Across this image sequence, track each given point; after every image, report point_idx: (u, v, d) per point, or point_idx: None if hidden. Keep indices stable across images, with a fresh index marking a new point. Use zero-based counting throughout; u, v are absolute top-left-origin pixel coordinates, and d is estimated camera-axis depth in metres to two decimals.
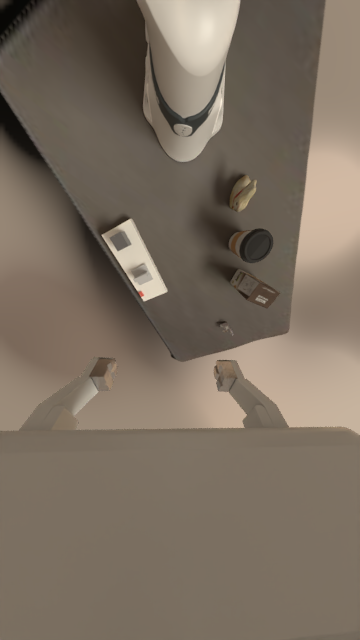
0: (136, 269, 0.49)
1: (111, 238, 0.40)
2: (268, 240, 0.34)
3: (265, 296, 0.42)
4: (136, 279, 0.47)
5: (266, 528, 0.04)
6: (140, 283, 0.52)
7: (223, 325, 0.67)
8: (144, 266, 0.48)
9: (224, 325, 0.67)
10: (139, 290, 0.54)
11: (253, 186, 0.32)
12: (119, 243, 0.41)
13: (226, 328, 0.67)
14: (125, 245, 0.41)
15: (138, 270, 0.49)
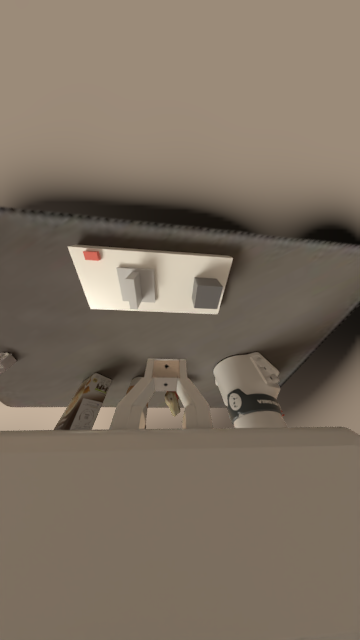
0: (151, 282, 0.23)
1: (219, 289, 0.21)
2: None
3: None
4: (131, 286, 0.20)
5: (266, 528, 0.04)
6: (120, 272, 0.22)
7: (5, 361, 0.36)
8: (151, 299, 0.25)
9: (6, 362, 0.36)
10: (103, 255, 0.21)
11: (176, 414, 0.41)
12: (205, 297, 0.21)
13: None
14: (197, 304, 0.22)
15: (148, 284, 0.23)
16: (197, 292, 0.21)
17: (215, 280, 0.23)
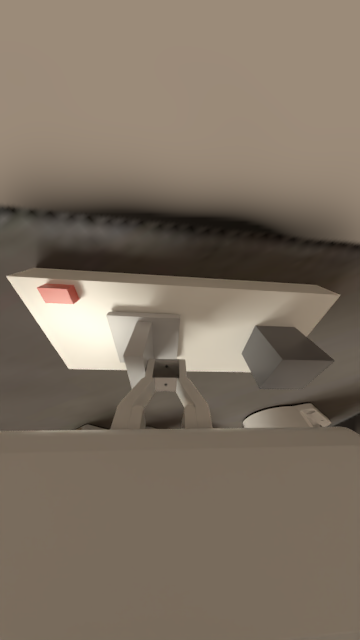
0: (174, 337, 0.12)
1: (325, 364, 0.10)
2: None
3: None
4: (136, 366, 0.09)
5: (266, 528, 0.04)
6: (114, 322, 0.11)
7: None
8: None
9: None
10: (82, 292, 0.10)
11: None
12: (289, 375, 0.11)
13: None
14: (268, 383, 0.11)
15: (168, 340, 0.12)
16: (277, 369, 0.10)
17: (299, 334, 0.12)
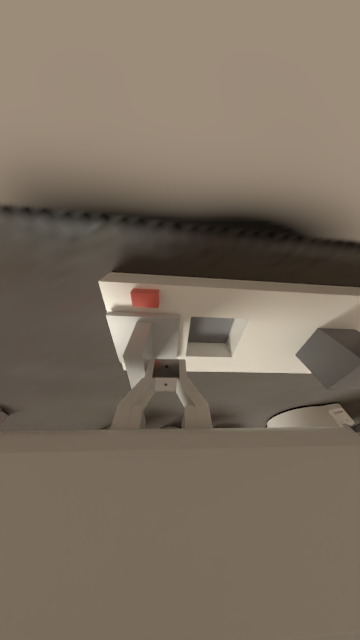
0: (173, 337, 0.12)
1: None
2: None
3: None
4: (136, 366, 0.09)
5: (266, 528, 0.04)
6: (114, 322, 0.11)
7: None
8: None
9: None
10: (165, 296, 0.11)
11: None
12: None
13: None
14: (337, 384, 0.12)
15: (168, 340, 0.12)
16: (354, 370, 0.10)
17: None
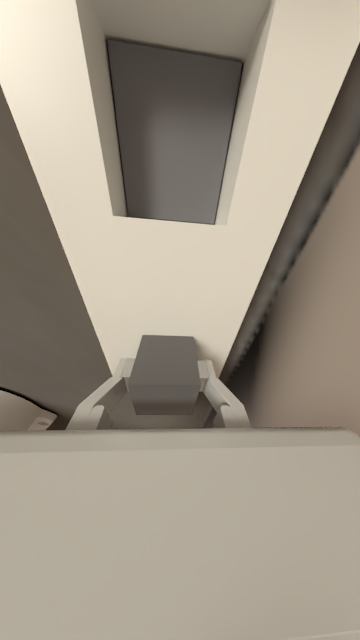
0: None
1: (186, 412, 0.09)
2: None
3: None
4: None
5: (266, 528, 0.04)
6: None
7: None
8: None
9: None
10: None
11: None
12: (166, 398, 0.08)
13: None
14: (142, 388, 0.07)
15: None
16: (180, 386, 0.07)
17: None
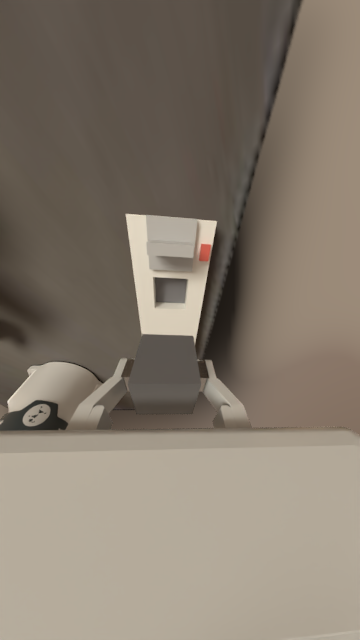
0: (176, 267, 0.19)
1: (186, 411, 0.09)
2: None
3: None
4: (183, 252, 0.14)
5: (266, 528, 0.04)
6: (191, 224, 0.16)
7: None
8: (153, 264, 0.18)
9: None
10: (202, 263, 0.19)
11: None
12: (167, 397, 0.08)
13: None
14: (142, 387, 0.07)
15: (174, 263, 0.18)
16: (180, 385, 0.07)
17: None
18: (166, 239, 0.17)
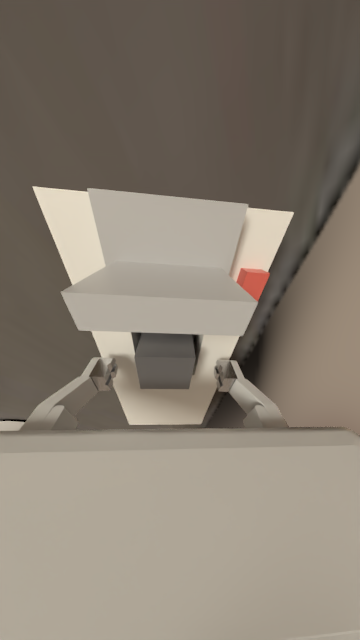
0: None
1: (183, 386, 0.11)
2: None
3: None
4: (212, 322, 0.04)
5: (266, 528, 0.04)
6: (226, 219, 0.05)
7: None
8: None
9: None
10: None
11: None
12: (167, 371, 0.10)
13: None
14: (146, 361, 0.09)
15: None
16: (178, 359, 0.09)
17: None
18: (155, 260, 0.06)
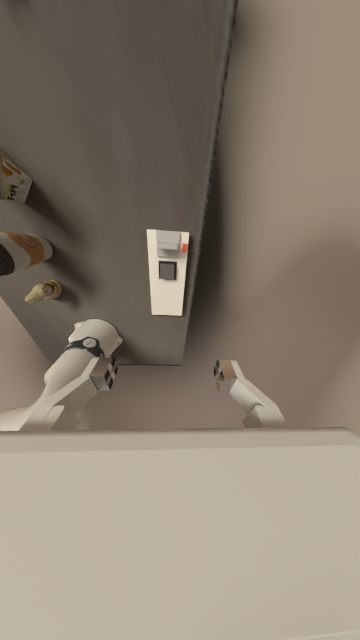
0: (170, 255, 0.37)
1: (172, 278, 0.40)
2: None
3: None
4: (172, 247, 0.33)
5: (266, 528, 0.04)
6: (176, 234, 0.34)
7: None
8: (158, 253, 0.37)
9: None
10: (183, 253, 0.38)
11: (28, 301, 0.37)
12: (167, 270, 0.38)
13: None
14: (162, 266, 0.38)
15: (169, 253, 0.37)
16: (170, 265, 0.38)
17: None
18: (165, 241, 0.35)
